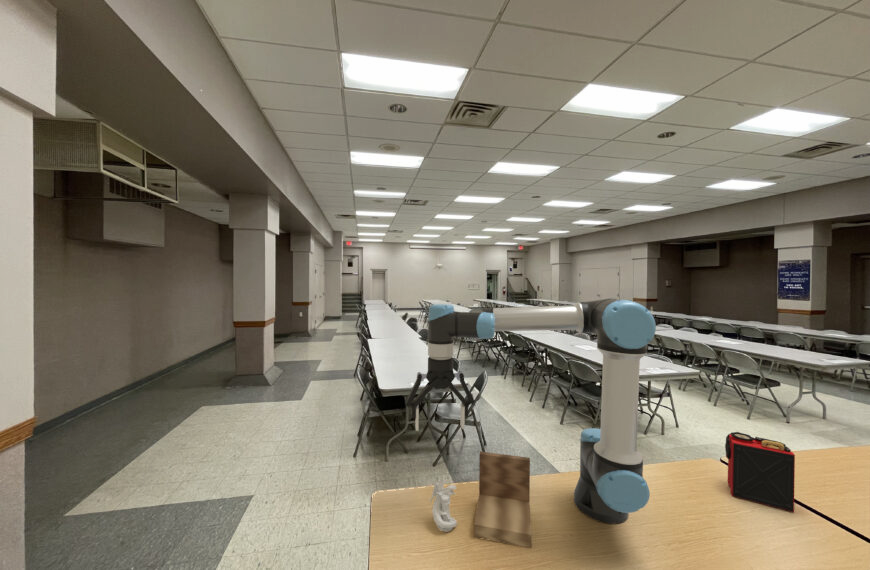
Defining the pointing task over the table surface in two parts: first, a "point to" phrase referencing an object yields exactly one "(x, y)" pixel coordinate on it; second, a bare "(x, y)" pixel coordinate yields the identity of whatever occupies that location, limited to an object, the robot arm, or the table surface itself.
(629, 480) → the robot arm
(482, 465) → the wall shelf
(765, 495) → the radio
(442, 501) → the figurine
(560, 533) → the table surface
